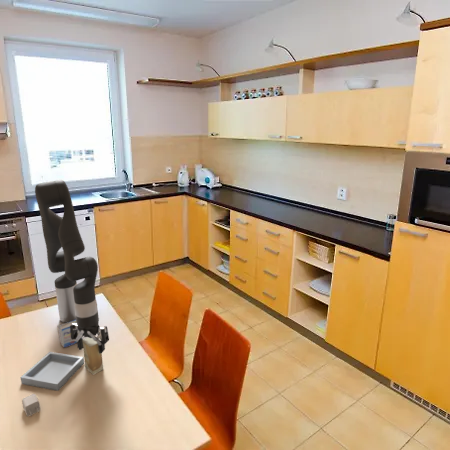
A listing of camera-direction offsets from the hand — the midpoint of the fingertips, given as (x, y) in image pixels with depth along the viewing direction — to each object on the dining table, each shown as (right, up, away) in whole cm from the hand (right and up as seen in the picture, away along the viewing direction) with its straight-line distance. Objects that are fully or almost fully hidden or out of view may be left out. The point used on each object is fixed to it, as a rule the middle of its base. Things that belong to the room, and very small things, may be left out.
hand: (91, 350), depth 130 cm
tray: (-14, -8, 0) cm, 16 cm away
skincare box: (0, -8, +3) cm, 9 cm away
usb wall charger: (-12, -14, -17) cm, 25 cm away
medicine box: (-16, -3, +19) cm, 25 cm away
